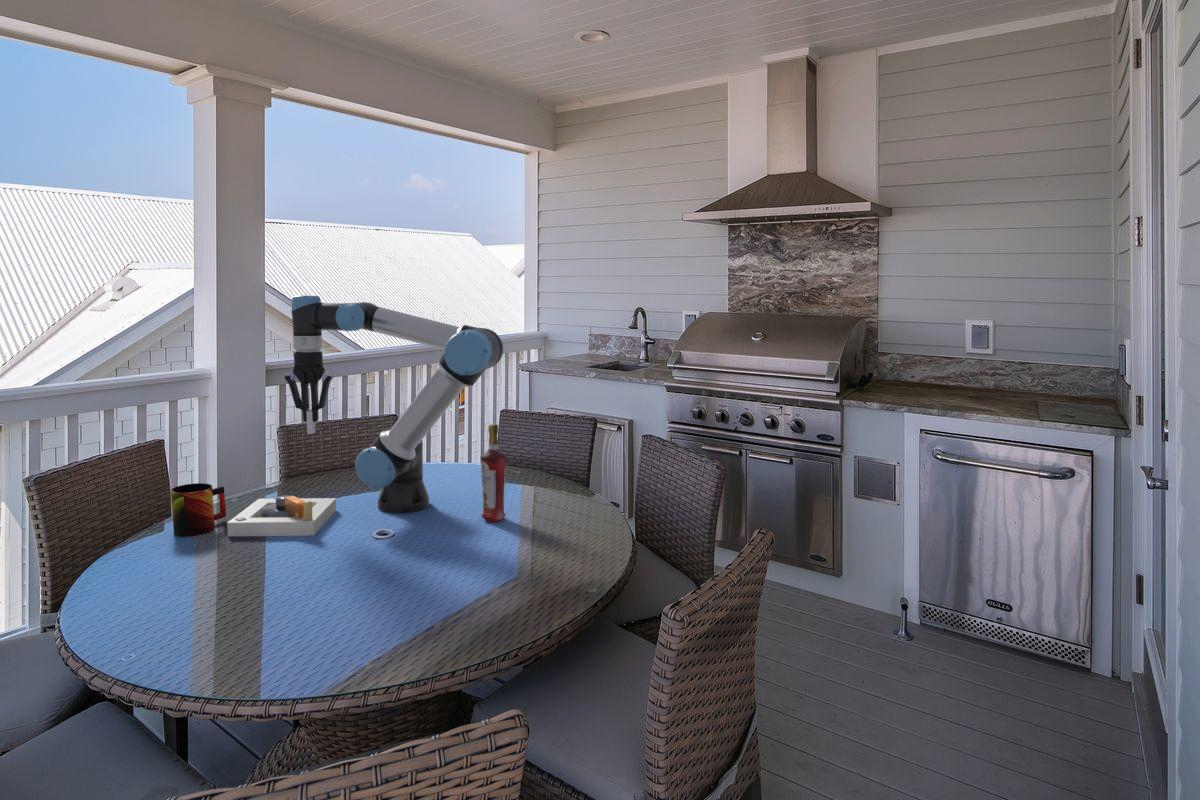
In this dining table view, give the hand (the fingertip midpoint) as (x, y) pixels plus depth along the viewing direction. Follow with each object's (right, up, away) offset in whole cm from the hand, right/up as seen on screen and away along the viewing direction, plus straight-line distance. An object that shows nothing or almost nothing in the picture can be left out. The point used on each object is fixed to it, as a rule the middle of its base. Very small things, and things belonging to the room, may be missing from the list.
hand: (311, 432), depth 205 cm
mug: (-27, -26, -10) cm, 39 cm away
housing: (-6, -25, -4) cm, 26 cm away
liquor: (+52, -26, +2) cm, 58 cm away
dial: (-4, -23, -6) cm, 24 cm away
